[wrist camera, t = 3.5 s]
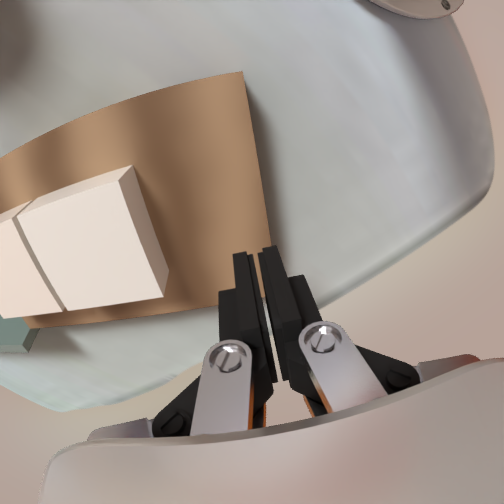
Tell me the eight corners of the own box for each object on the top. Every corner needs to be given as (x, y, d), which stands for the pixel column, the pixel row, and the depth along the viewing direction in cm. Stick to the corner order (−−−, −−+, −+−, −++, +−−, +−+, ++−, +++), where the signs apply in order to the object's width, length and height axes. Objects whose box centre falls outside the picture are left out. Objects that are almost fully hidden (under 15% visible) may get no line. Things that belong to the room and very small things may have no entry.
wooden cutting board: (239, 73, 15) (242, 71, 12) (272, 268, 23) (278, 294, 20) (-24, 174, 15) (-46, 189, 13) (41, 306, 23) (30, 328, 20)
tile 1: (32, 200, 15) (11, 218, 12) (74, 287, 18) (62, 311, 16) (-24, 225, 15) (-42, 243, 13) (16, 298, 18) (3, 318, 16)
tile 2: (132, 164, 14) (118, 180, 12) (169, 270, 18) (163, 296, 16) (37, 197, 15) (16, 216, 12) (80, 286, 18) (67, 310, 16)
